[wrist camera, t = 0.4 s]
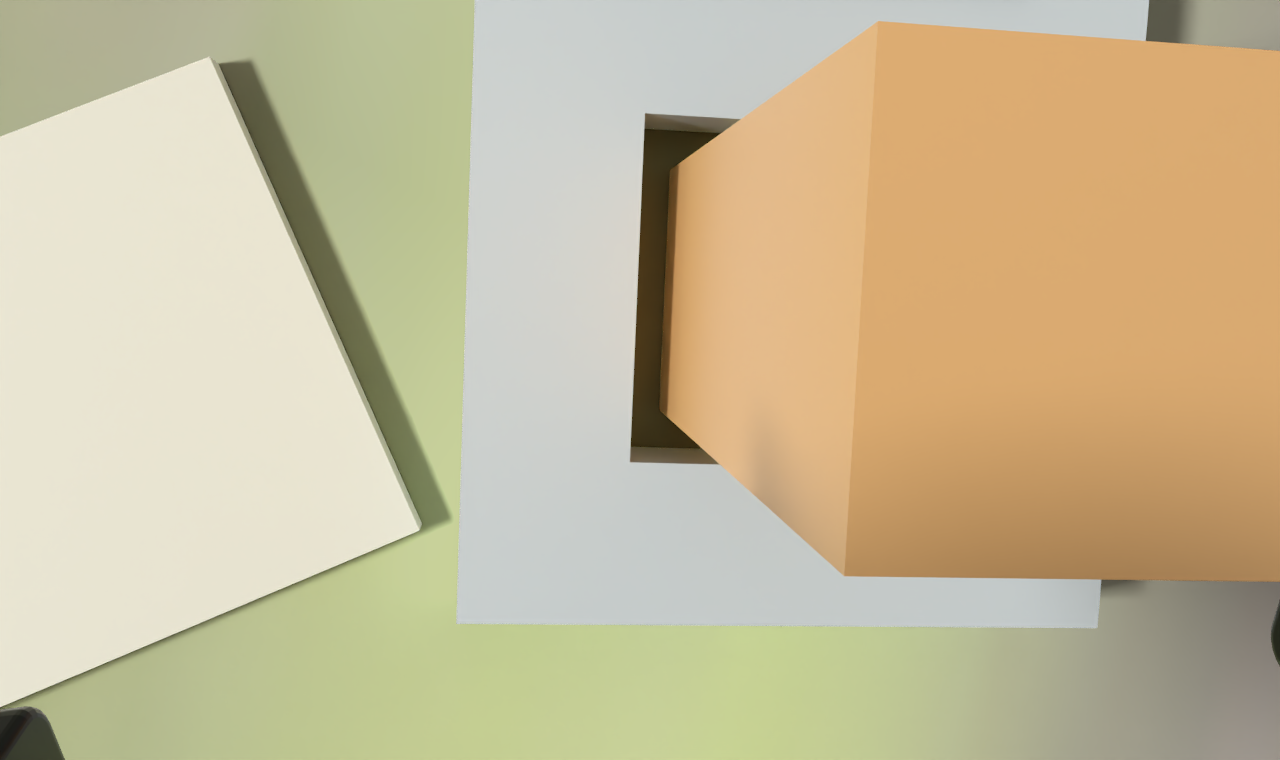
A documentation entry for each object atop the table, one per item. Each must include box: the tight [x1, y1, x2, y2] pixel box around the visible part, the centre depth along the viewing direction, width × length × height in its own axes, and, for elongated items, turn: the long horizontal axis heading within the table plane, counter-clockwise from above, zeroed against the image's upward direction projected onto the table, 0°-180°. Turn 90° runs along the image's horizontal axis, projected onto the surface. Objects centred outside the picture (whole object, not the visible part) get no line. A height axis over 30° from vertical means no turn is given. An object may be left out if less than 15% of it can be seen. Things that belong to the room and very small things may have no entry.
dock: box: [456, 0, 1149, 628], centre depth 22 cm, size 18×13×2 cm
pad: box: [0, 57, 422, 707], centre depth 21 cm, size 10×10×1 cm
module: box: [659, 21, 1280, 582], centre depth 16 cm, size 5×5×13 cm
